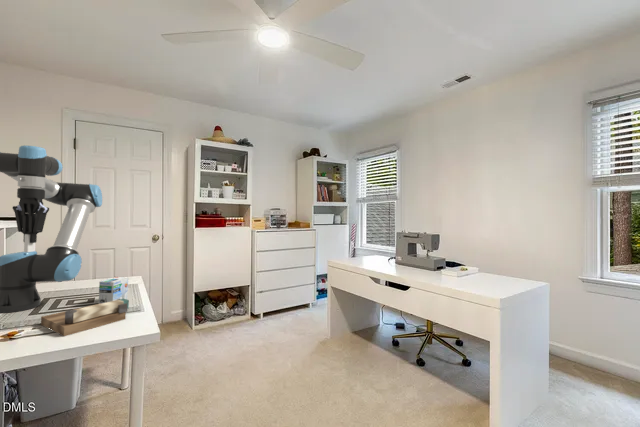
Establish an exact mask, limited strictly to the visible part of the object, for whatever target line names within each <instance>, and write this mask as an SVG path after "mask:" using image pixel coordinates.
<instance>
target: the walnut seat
mask: <svg viewBox="0 0 640 427" xmlns="http://www.w3.org/2000/svg"><path fill="white" fill-rule="evenodd" d="M98 304H99V303H97V304H95V305H98ZM101 304H102V303H101ZM93 305H94V304H93ZM93 305H92V304H91V306H93ZM89 306H90V305H87V306H83V307H82V308H85V307H89ZM80 308H81V307H79V308H74V309H73V310H76V309H80ZM128 310H129V309H128V304H127V303H125V304H121V305H118V312H114V313H110V314H106V315H102V316H99V317H95V318H91V319H87V320H83V321H79V322H76V323H71V324H65V312H66V311H67V310H65V311H61V312H56V313H52V314H46V315H43V316H40V326H42V327H43V328H47V329H48V328H50V329H52V330H53V331H52V330H51V331H52V332H54V331H55V333H57V334H59V335H61V336H62V337H66V336H70V335H73V334H74V335H75V334H77V333H81V332H84V331H85V332H86V331H88V330H93V329H95V328H100V327H101V326H106V325H110V324H113V323H117V322H120V321H123V320H126V314H127V313H126V312H128ZM50 329H49V330H50Z"/></svg>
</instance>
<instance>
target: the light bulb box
mask: <svg viewBox="0 0 640 427" xmlns="http://www.w3.org/2000/svg"><path fill="white" fill-rule="evenodd" d="M98 286H99V287H98V304H101V303H107V302H111V301H115V300H120V299H127V300H129V298H128V294H129V277H126V276H125V277H124V276H114V277H111V278H110V277H109V278H107V279H104V280H101V281H99V285H98Z"/></svg>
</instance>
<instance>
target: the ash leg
mask: <svg viewBox="0 0 640 427" xmlns="http://www.w3.org/2000/svg"><path fill="white" fill-rule="evenodd" d="M125 303H127V304H128V309H127V310H129V307H130V306H129V305H130V301H129V299H128V300H127V299H120V300H115V301H111V302H107V303H102V304H99V303H97V304H98V305H96V304H93V306H92V305H88V306H89V307H87V306H84V307H85V308H83V307H79V308H80V309H78V308H75V309H76V310H74V309H69V310H65V311H66V312H65V311H64V312H65V324H71V323H76V322H79V321H83V320H87V319H91V318H95V317H99V316H102V315H106V314H110V313H114V312H118V305H121V304H125Z"/></svg>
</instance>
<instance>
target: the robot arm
mask: <svg viewBox="0 0 640 427" xmlns="http://www.w3.org/2000/svg"><path fill="white" fill-rule="evenodd" d="M63 168H64V167H63V164H62V162H61V161H60V160H59V159H57V158H55V157H54V156H48V154H47V150H46V148H44V147H40V146H34V145H25V144H24V145H21V146H19V147H18V153H12V152H11V153H9V152H1V151H0V173H3V174H4V175H6V176H8V177H10V178H11V179H13V180H15V181H16V182H17V187H18V188H17V189H16V190H17V192H16V197H17V199H19V201H18V204H17V205H12V211H13V212H14V215H15V216H14V217H15V220H16V226H17V232H18V233H21V234H22V235H23V244H24V245H23V248H24V249H23V251H20V252H13V253H6V254H3V255H1V256H0V313H2V314H5V313H14V312H22V311H27V310H31V309H34V308H37V307H39V306H41V303H42V302H41V301H42V300H41V296H40V294H39V292H38V289H37V287H36V286H37V283H48V282H51V283H52V282H57V283H59V282H60V283H61V282H68V281H69V282H70V281H71V280H74V279H75V278H76V277H77V276H78V274H79V273H80V271H81V268H82V265H81V264H82V263H83V262H82V257H81V255H80V253H79V252H78V248H79V244H80V241H81V238H82V235H83V233H84V230H85V227H86V224H87V221H88V218H89V216H90V214H91V213H93V212H95V210H96V208H100V207H102V205H103V193H102V189H101V187H100V186H99V185H97V184H92V183H89V184H87V183H85V184H84V183H73V182H72V183H71V182H70V183H69V182H58V181H55V180H53V179H49V178H47V177H46V176H50V177H52V176H58V175H59V174H60V173H62V171H63ZM43 200H44V201H46V202H49V203H51V204H54V205H58V206H62V207H63V206H66V207H67V208H68V209H67V212H66V214H65V217H63V218H64V219H63V220H62V221H63V222H62V223H61V226H60V228H59V231H58V233H57V235H56V238H55V240H54V242H53V245H52V246H49V247H47V249H46V251H45V253H44V254H38V252H37V250H36V243H37V241H38V240H37V239H38V238H37V237H38V236H37V235H38V234H39V233H43V231H44V230H43V229H44V226H45V223H46V218H47V216H48V213H49V211H50V207H46V206H45V205H44V201H43Z"/></svg>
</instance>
